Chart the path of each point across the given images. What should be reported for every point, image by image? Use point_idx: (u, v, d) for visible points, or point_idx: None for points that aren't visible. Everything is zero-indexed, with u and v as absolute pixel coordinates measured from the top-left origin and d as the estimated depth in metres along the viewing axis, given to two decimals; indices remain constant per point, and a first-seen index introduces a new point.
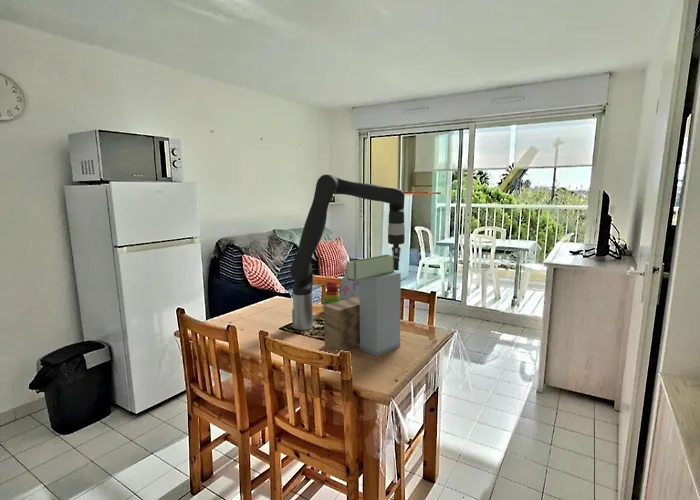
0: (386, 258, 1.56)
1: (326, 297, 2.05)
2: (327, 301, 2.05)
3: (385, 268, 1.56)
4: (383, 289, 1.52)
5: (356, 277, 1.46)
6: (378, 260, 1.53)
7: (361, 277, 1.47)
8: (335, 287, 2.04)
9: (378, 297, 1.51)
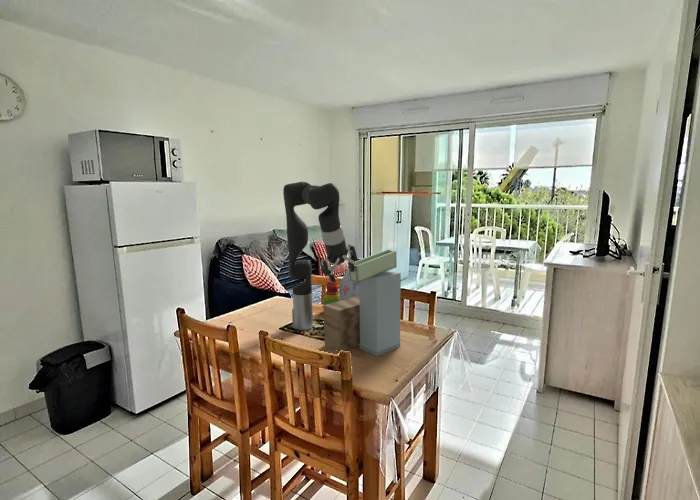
0: (388, 255, 1.55)
1: (326, 297, 2.05)
2: (327, 301, 2.05)
3: (387, 265, 1.56)
4: (383, 289, 1.52)
5: (359, 278, 1.47)
6: (380, 258, 1.52)
7: (364, 278, 1.48)
8: (335, 287, 2.04)
9: (378, 297, 1.51)
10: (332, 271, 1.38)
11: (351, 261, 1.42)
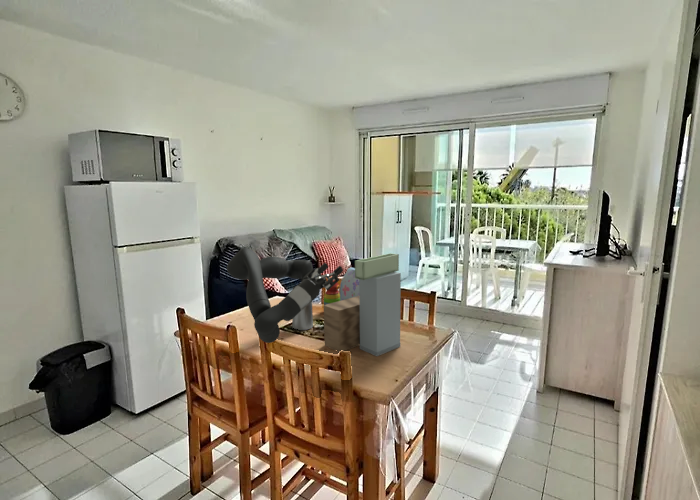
0: (391, 257, 1.58)
1: (326, 297, 2.05)
2: (327, 301, 2.05)
3: (390, 266, 1.59)
4: (383, 289, 1.52)
5: (365, 275, 1.48)
6: (384, 259, 1.55)
7: (369, 276, 1.50)
8: (335, 287, 2.04)
9: (378, 297, 1.51)
10: None
11: None
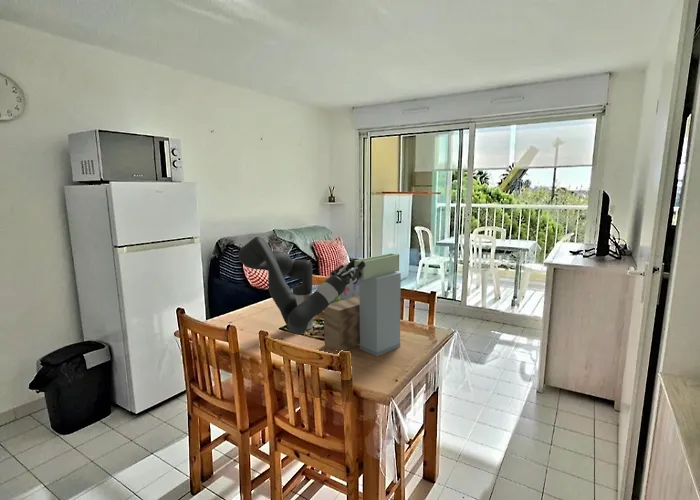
0: (392, 257, 1.58)
1: None
2: None
3: (391, 266, 1.59)
4: (383, 289, 1.52)
5: (364, 275, 1.48)
6: (384, 259, 1.55)
7: (368, 275, 1.50)
8: None
9: (378, 297, 1.51)
10: None
11: None
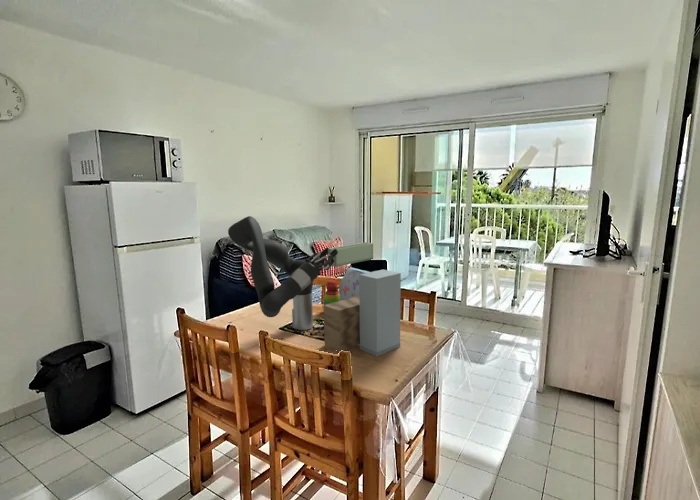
0: (365, 245, 1.65)
1: (326, 297, 2.05)
2: (327, 301, 2.05)
3: (364, 255, 1.65)
4: (383, 289, 1.52)
5: (337, 262, 1.55)
6: (358, 247, 1.62)
7: (341, 263, 1.56)
8: (335, 287, 2.04)
9: (378, 297, 1.51)
10: None
11: None
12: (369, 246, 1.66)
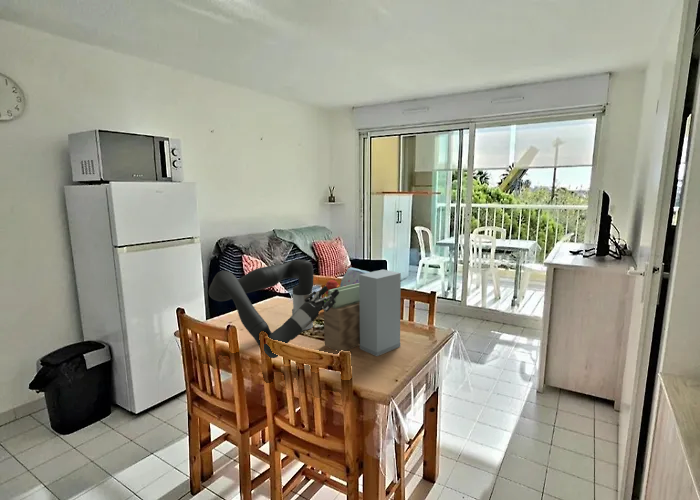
0: None
1: None
2: None
3: None
4: (383, 289, 1.52)
5: (337, 304, 1.58)
6: (358, 288, 1.65)
7: (341, 304, 1.60)
8: (335, 287, 2.04)
9: (378, 297, 1.51)
10: None
11: None
12: None
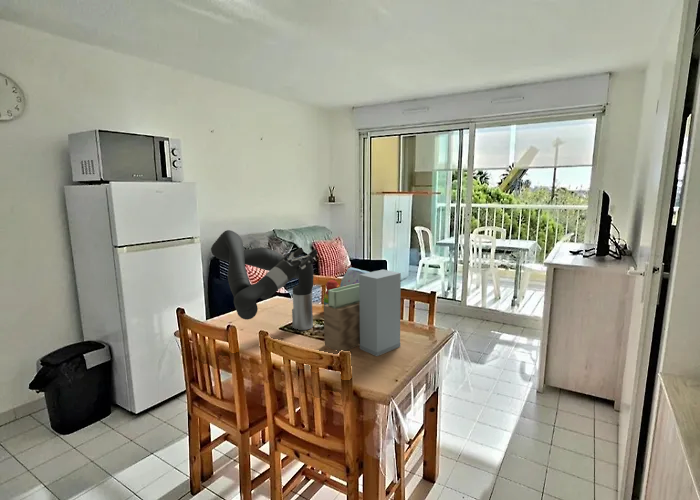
0: None
1: (326, 297, 2.05)
2: (327, 301, 2.05)
3: None
4: (383, 289, 1.52)
5: (337, 304, 1.58)
6: (358, 288, 1.65)
7: (341, 304, 1.60)
8: (335, 287, 2.04)
9: (378, 297, 1.51)
10: None
11: None
12: None
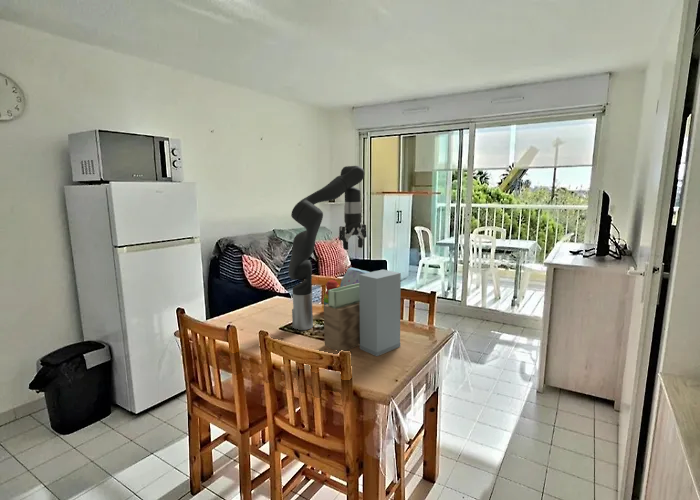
0: None
1: (326, 297, 2.05)
2: (327, 301, 2.05)
3: None
4: (383, 289, 1.52)
5: (337, 304, 1.58)
6: (358, 288, 1.65)
7: (341, 304, 1.60)
8: (335, 287, 2.04)
9: (378, 297, 1.51)
10: (347, 238, 1.67)
11: (362, 237, 1.73)
12: None
